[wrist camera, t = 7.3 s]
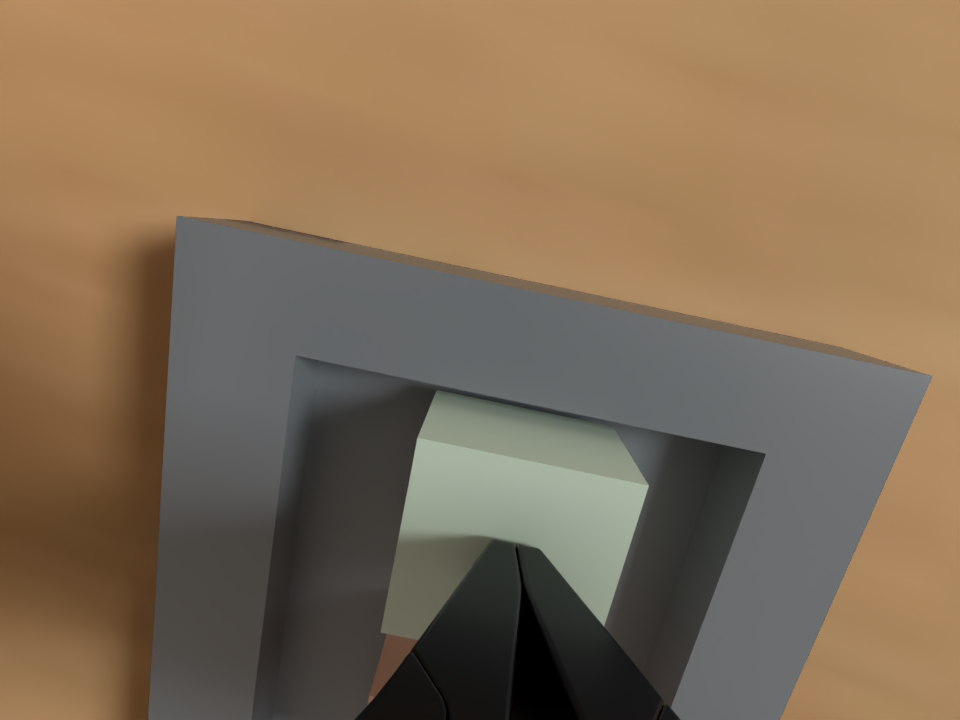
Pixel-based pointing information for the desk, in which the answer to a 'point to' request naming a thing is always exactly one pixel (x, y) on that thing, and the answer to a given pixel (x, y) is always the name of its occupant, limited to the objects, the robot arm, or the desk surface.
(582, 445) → the key sage
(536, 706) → the robot arm
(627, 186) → the desk surface
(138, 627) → the desk surface
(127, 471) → the desk surface
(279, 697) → the keypad board
